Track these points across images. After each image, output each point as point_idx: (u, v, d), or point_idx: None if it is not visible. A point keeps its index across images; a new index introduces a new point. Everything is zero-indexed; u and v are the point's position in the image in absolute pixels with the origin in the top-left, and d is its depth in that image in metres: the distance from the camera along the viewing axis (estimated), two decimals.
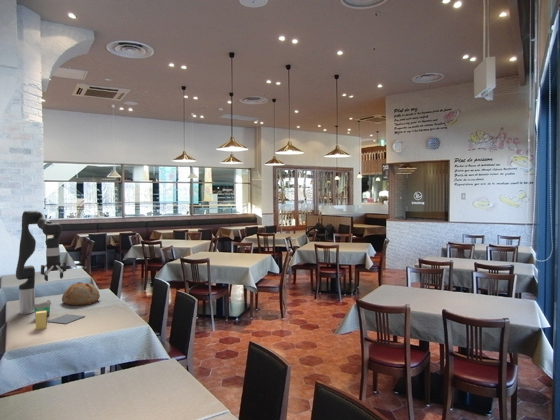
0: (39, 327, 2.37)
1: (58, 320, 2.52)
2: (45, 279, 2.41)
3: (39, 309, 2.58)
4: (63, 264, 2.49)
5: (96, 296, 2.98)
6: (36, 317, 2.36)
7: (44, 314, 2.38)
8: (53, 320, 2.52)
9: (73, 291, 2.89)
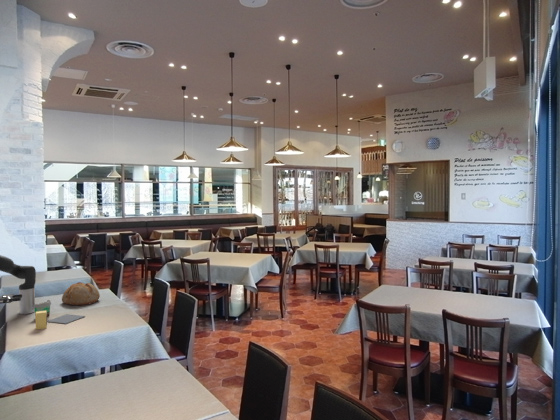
0: (39, 327, 2.37)
1: (58, 320, 2.52)
2: (19, 297, 2.38)
3: (39, 309, 2.58)
4: None
5: (96, 296, 2.98)
6: (36, 317, 2.36)
7: (44, 314, 2.38)
8: (53, 320, 2.52)
9: (73, 291, 2.89)
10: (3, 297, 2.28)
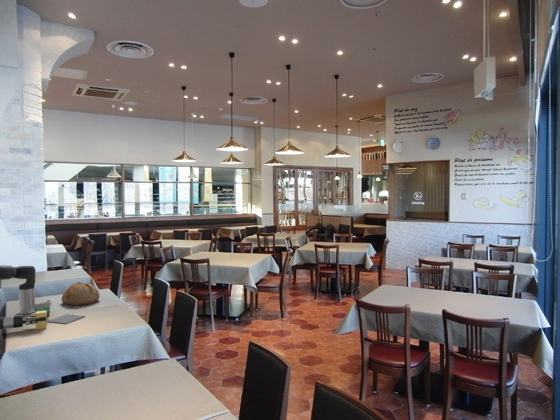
0: (39, 327, 2.37)
1: (58, 320, 2.52)
2: None
3: (39, 309, 2.58)
4: None
5: (96, 296, 2.98)
6: (36, 317, 2.36)
7: (44, 314, 2.38)
8: (53, 320, 2.52)
9: (73, 291, 2.89)
10: (28, 318, 2.35)
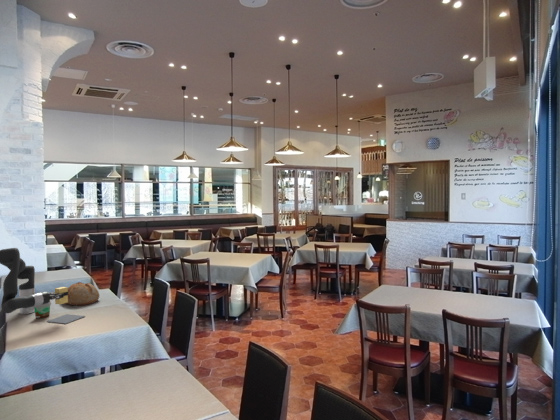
0: (62, 302, 2.50)
1: (58, 320, 2.52)
2: None
3: (39, 309, 2.58)
4: None
5: (96, 296, 2.98)
6: None
7: (66, 289, 2.53)
8: (53, 320, 2.52)
9: (72, 291, 2.89)
10: (53, 294, 2.45)
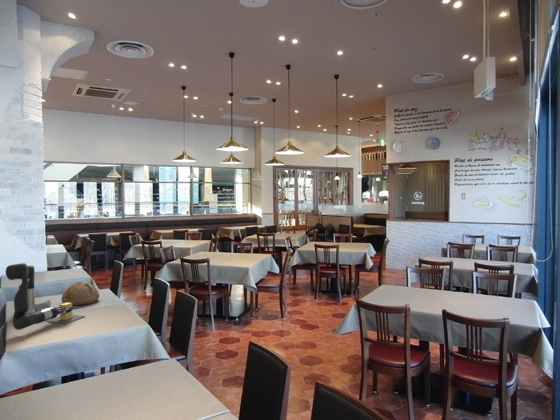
0: (68, 317, 2.55)
1: (58, 320, 2.52)
2: None
3: (40, 309, 2.58)
4: None
5: (95, 296, 2.98)
6: None
7: (71, 305, 2.57)
8: (53, 320, 2.52)
9: (72, 291, 2.89)
10: (59, 309, 2.49)
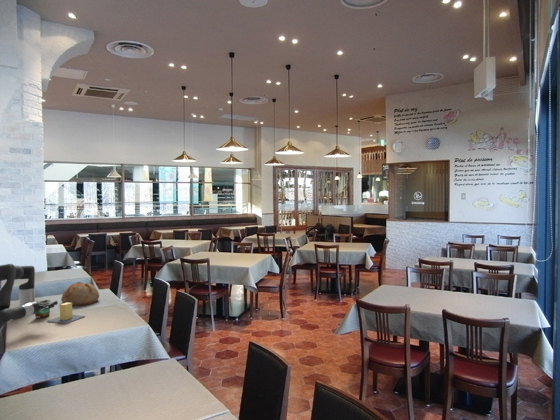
0: (68, 317, 2.55)
1: (58, 320, 2.52)
2: (44, 302, 2.46)
3: None
4: None
5: (95, 296, 2.98)
6: (66, 308, 2.53)
7: (71, 305, 2.57)
8: (53, 320, 2.52)
9: (72, 291, 2.89)
10: (42, 304, 2.37)
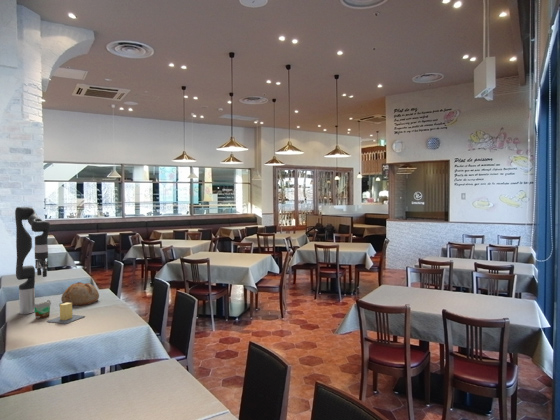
0: (68, 317, 2.55)
1: (58, 320, 2.52)
2: None
3: (39, 309, 2.58)
4: None
5: (95, 296, 2.98)
6: (66, 308, 2.53)
7: (71, 305, 2.57)
8: (53, 320, 2.52)
9: (72, 291, 2.89)
10: None
